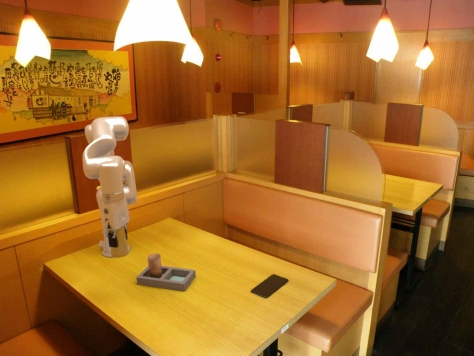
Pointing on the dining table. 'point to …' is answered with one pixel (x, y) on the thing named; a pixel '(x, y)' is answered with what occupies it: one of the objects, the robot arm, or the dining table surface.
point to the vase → (120, 244)
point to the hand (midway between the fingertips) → (118, 242)
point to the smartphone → (269, 286)
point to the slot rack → (174, 283)
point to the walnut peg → (154, 266)
